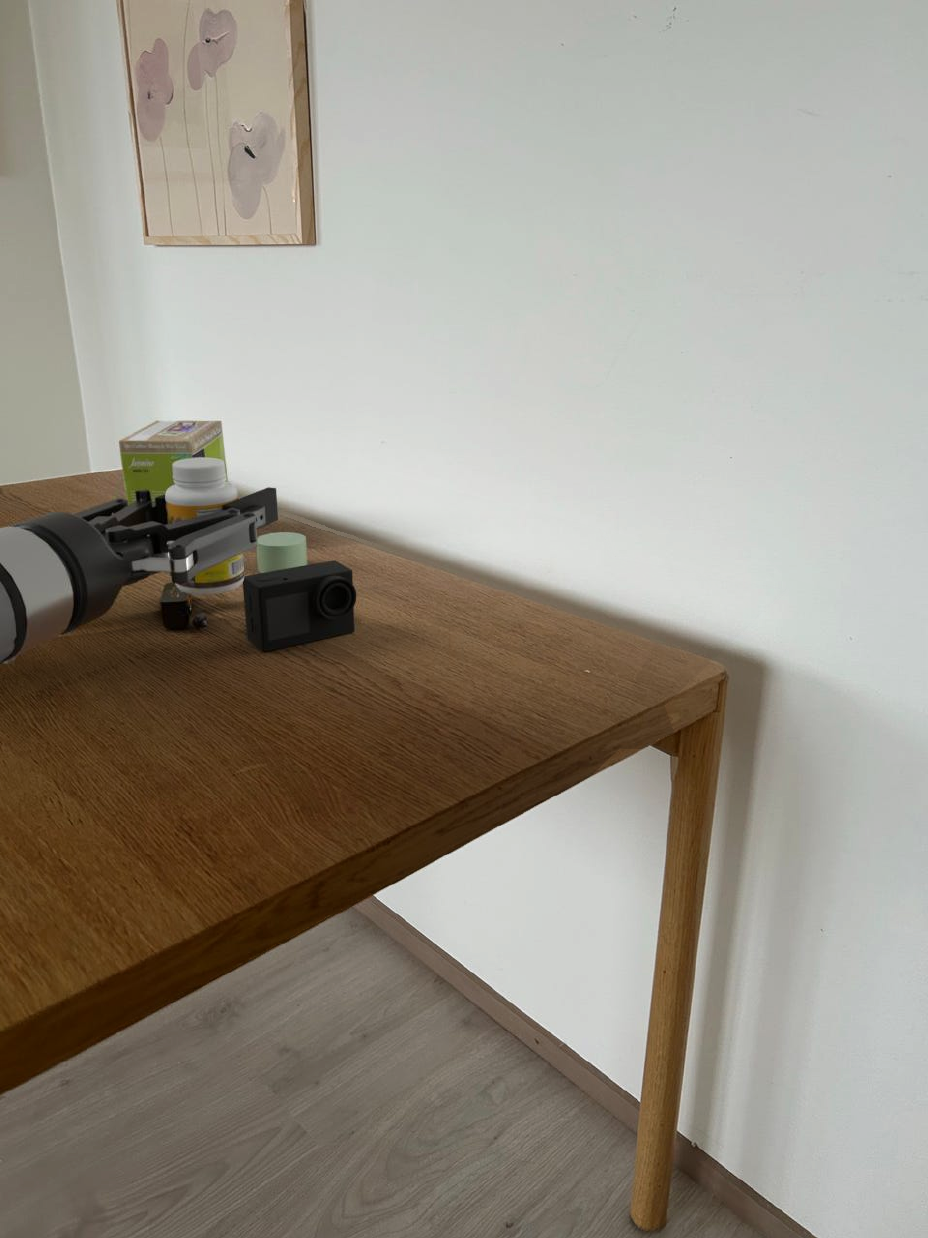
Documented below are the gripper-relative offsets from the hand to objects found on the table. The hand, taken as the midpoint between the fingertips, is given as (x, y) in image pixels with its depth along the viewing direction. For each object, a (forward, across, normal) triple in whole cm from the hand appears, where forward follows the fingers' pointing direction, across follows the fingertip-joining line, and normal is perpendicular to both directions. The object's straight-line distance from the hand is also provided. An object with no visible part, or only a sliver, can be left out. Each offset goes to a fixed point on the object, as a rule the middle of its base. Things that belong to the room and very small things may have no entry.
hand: (240, 500), depth 80 cm
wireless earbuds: (+12, -17, -18) cm, 27 cm away
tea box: (+41, -38, -18) cm, 59 cm away
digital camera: (+13, -3, -18) cm, 22 cm away
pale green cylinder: (+29, -15, -18) cm, 37 cm away
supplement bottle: (-5, 0, -6) cm, 8 cm away
